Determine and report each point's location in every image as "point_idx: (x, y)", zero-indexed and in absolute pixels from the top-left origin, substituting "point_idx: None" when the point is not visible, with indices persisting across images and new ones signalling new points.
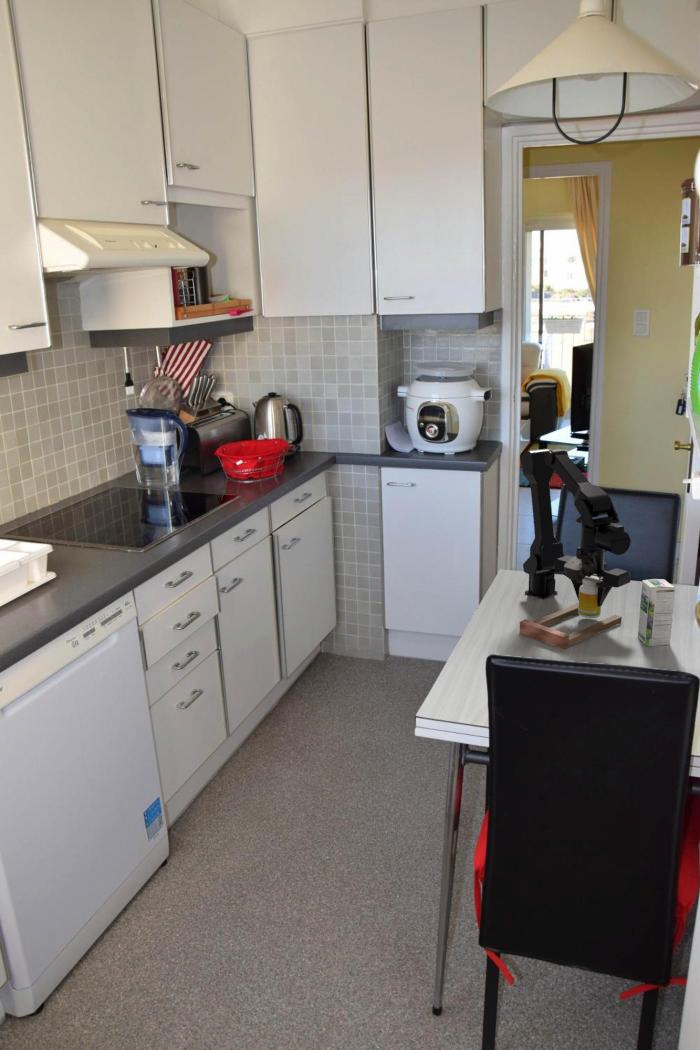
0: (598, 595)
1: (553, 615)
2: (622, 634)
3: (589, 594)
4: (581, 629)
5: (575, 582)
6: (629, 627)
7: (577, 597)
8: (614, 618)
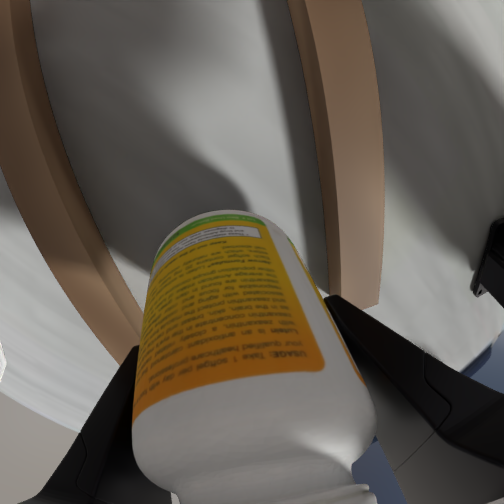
0: (104, 430)
1: (344, 45)
2: (12, 280)
3: (151, 404)
4: (17, 73)
5: (447, 421)
6: (76, 342)
7: (349, 305)
8: (110, 341)
